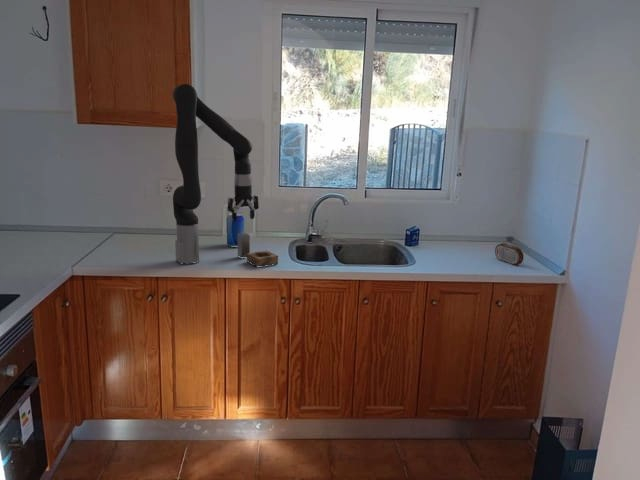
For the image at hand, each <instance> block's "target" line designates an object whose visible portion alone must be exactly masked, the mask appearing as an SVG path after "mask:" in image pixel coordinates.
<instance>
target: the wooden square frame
mask: <svg viewBox="0 0 640 480" xmlns="http://www.w3.org/2000/svg"><path fill="white" fill-rule="evenodd" d="M247 261H249V262H251V263H252V264H254V265H256V266H265V265H272V264H278V265H279V255H277V254H275V253H273V252H271V251H269V250H261V251H254V252H253V251H252V252H250V253H247V259H246V262H247ZM272 266H273V265H272Z"/></svg>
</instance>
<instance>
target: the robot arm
mask: <svg viewBox="0 0 640 480" xmlns="http://www.w3.org/2000/svg"><path fill="white" fill-rule="evenodd" d="M172 99H173V102H175V106H176V108H175V109H176V117H177V119H176V120H177V122H176V128H175V136H174V139H175V140H174V145H175V146H174V147H175V148H174V151H175V159H176V162H177V165H178V166H179V169H180V172H181V174H182V180H183V183H182V184H183V185H180V186H178V187H176V188H175V190H174V192H173V195H172V207H173V215H174V219H175V221H176V222H175V223H176V224H175V225H176V226H175V227H176V239H175V261H176V260H177V261H179V262H180V263H193V262H197V261H199V262H200V249H199V248H200V244H199V243H200V242H199V240H200V239H199V235H200V234H199V217H198V216H197V214H195V212H194V210H196V209H197V208H199V206H200V205H201V201H202V192H201V185H200V175H199V143H198V129H197V121H196V119H199V120H200V121H201V122H203V124H204V125H206V127H208V128H209V129H210V130H211V131H212V132H213V133H214V134H215V135H217V137H218V138H220V139H221V140H223V141H224V142H225V143H227V144H228V145H230V147H232V148H233V149H232V150H233V152H232V153H233V157H234V178H233V179H234V182H233V184H234V197H228V198H227V211H228V212H230V213H232V219H233V221H237V213H238V210H239V209H240V208H243V207H248V208H249V218H250V220H254V219H255V211H256V210H258V209H259V208H260V207H259V206H260V204H259V196H257V195H252V194H253V193H252V192H253V191H252V190H253V189H252V187H253V185H252V184H253V183H252V182H253V180H252V179H253V178H252V165H251V164H252V163H251V162H250V153H251V152H252V150H253V145H252V143H251V141H250V139H248V138H247V137H245V136H244V135H243V134H242V133H241V132H239V131H238V130H237V129H235V127H234V126H233V125H231V124H230V123H229V122H228V121H227V120H226V119H225V118H223V117H222V116H221V115H219V114H218V113H216V112H215V111H214V110H213V109H211V107H209V106H208V105H206V104H205V103H204V102H203V101H202V100H201V99H200V98H199V96H198V94H197V90H196V89H195V87H194V86H193V85H191V84H188V83H181V84H179V85H176V87H174V89H173V91H172ZM252 201H253V202H252ZM234 202H235V203H234ZM177 261H176V262H177Z"/></svg>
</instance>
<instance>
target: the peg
mask: <svg viewBox="0 0 640 480" xmlns="http://www.w3.org/2000/svg"><path fill="white" fill-rule="evenodd" d="M250 237H251V236H250V234H249V233H246V232H244V233H240V234H238V248H237V257H238V256H240V257H247V253H251V252H250V251H251V250H250Z"/></svg>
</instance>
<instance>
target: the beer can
mask: <svg viewBox="0 0 640 480" xmlns="http://www.w3.org/2000/svg"><path fill="white" fill-rule="evenodd" d="M236 213H237V221H233V219H232V212H230V213H228V216H227V217H226V244H227V246H228V245H229V246H238V234H240V233H245V218H244V216H243V213H241V212H236ZM229 246H228V247H229Z"/></svg>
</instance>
